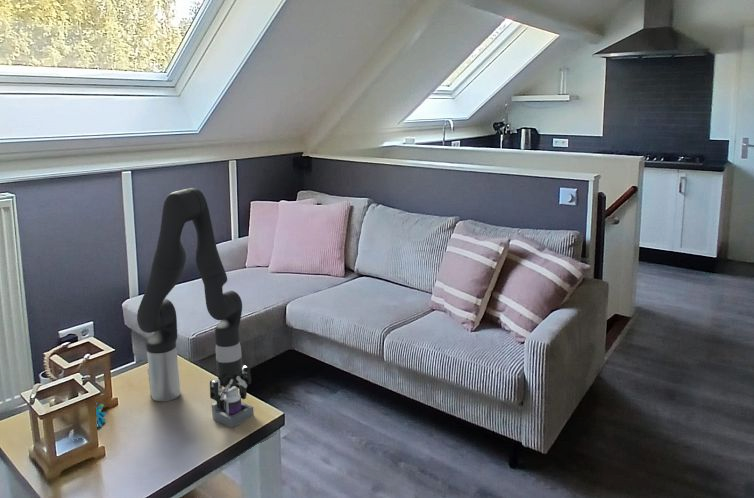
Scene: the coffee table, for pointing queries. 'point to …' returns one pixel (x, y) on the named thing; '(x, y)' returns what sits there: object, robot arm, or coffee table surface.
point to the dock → (235, 419)
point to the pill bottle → (232, 401)
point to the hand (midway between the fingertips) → (232, 403)
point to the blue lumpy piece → (98, 413)
